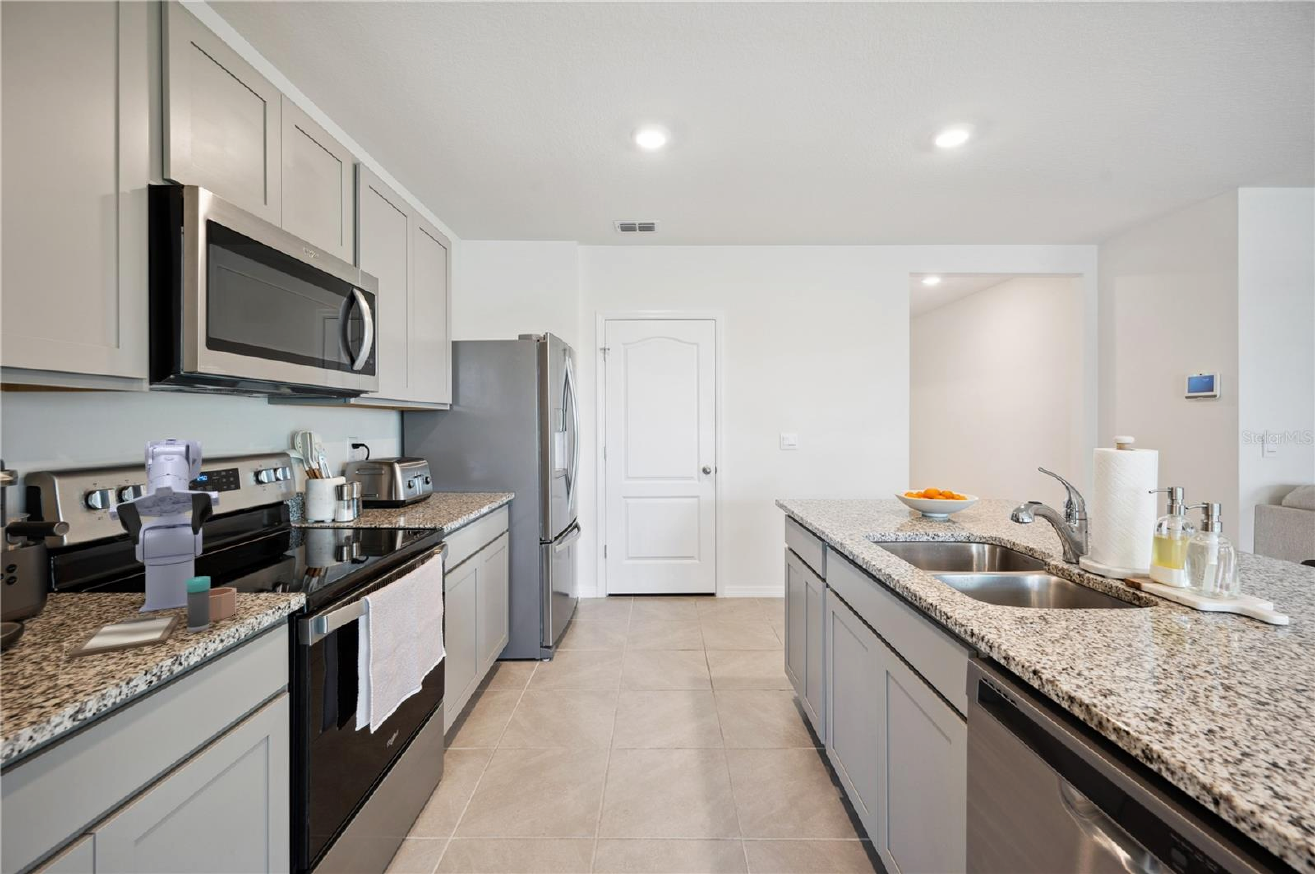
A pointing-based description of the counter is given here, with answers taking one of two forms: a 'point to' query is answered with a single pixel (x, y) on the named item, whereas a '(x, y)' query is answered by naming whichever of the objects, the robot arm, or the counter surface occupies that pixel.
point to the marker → (197, 603)
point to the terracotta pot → (222, 603)
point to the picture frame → (127, 635)
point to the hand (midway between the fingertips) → (165, 535)
